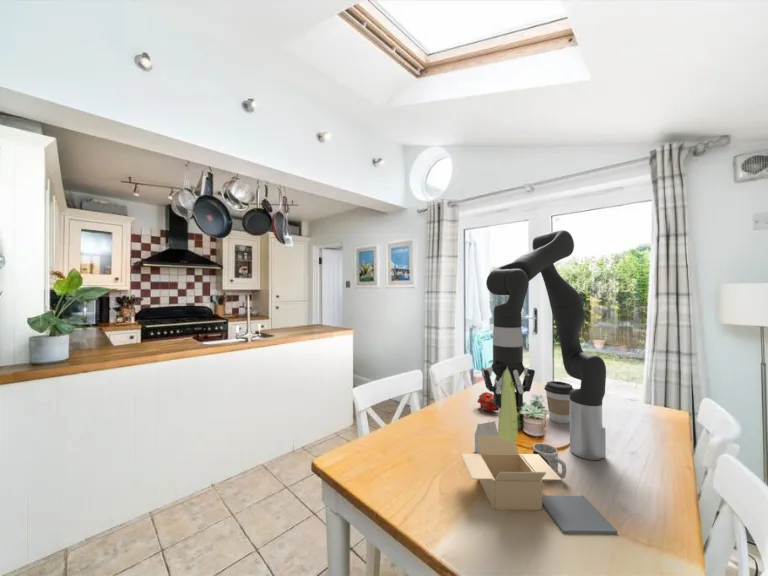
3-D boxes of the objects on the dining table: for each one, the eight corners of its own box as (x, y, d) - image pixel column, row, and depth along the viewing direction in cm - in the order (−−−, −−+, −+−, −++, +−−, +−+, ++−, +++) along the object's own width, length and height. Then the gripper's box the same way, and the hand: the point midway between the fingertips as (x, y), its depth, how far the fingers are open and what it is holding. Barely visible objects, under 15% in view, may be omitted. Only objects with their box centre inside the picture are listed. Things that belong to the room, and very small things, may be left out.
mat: (583, 498, 82) (583, 495, 82) (617, 533, 70) (617, 531, 70) (537, 497, 82) (537, 495, 82) (563, 533, 70) (563, 530, 70)
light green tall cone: (523, 441, 82) (523, 367, 82) (506, 444, 81) (505, 368, 81) (510, 432, 87) (509, 362, 88) (494, 434, 86) (493, 363, 86)
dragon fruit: (480, 408, 148) (498, 421, 138) (469, 400, 145) (487, 413, 134) (490, 393, 150) (509, 405, 139) (479, 385, 146) (498, 396, 135)
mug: (528, 467, 96) (528, 445, 96) (543, 462, 99) (543, 441, 99) (557, 486, 87) (557, 462, 87) (573, 480, 90) (573, 457, 90)
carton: (532, 472, 94) (532, 435, 94) (570, 519, 74) (570, 472, 74) (458, 471, 94) (458, 434, 94) (476, 517, 75) (476, 471, 75)
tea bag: (498, 453, 105) (498, 423, 105) (481, 456, 102) (481, 426, 102) (491, 448, 108) (491, 419, 108) (474, 451, 106) (474, 421, 106)
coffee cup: (575, 418, 133) (575, 383, 133) (575, 428, 124) (574, 390, 124) (545, 412, 139) (545, 378, 140) (542, 421, 130) (542, 385, 130)
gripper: (527, 340, 88) (528, 401, 88) (476, 341, 88) (477, 401, 88) (541, 345, 81) (541, 412, 80) (485, 345, 81) (485, 412, 81)
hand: (507, 406), depth 84 cm, fingers closed on light green tall cone, 4 cm apart
